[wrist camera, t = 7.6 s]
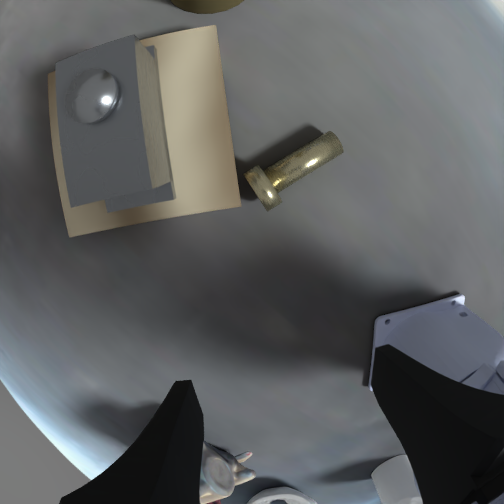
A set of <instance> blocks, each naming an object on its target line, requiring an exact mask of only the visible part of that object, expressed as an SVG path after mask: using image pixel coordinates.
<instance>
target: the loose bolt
mask: <svg viewBox="0 0 504 504" xmlns="http://www.w3.org/2000/svg"><path fill="white" fill-rule="evenodd" d="M342 153H343V147H342V144H341V143H340V141H339V139H338V138H337V137H336V135H335V134H334V133H333V132H331V131H328V132H327V133H325V134H323V135H321V136H320V137H318V138H316V139H315V140H313V141H311V142H309V143H308V144H306V145H304V146H303V147H301V148H299V149H298V150H296V151H294V152H293V153H291V154H289V155H288V156H286V157H284V158H283V159H281V160H280V161H278V162H276V163H275V164H273V165H271V166H270V167H268V168H267V169H265V170H262V169H261V168H260V166H259V165H257V166H255V167H254V168H252V169H250V170H249V171H247V172H246V173H244V174H243V175H244V177H245V178H246V180H247V181H248V183H249V184H250V186H251V187H252V189H253V190H254V192H255V193H256V195H257V197H258V198H259V200H260V201H261V203H262V204H263V206H264V207H265V209H266V210H267V212H268V211H269V210H271V209H273V208H274V207H276V206H277V205H279V204H280V203H282V200H281V198H280V197H279V195H278V193H279V192H280V191H282V190H284V189H285V188H287V187H288V186H290V185H292V184H293V183H295V182H296V181H298V180H300V179H301V178H303V177H304V176H306V175H308V174H309V173H311V172H313V171H314V170H316V169H317V168H319V167H321V166H322V165H324V164H326V163H327V162H329V161H331V160H332V159H334V158H336V157H337V156H339V155H341V154H342Z"/></svg>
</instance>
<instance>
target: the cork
mask: <svg viewBox="0 0 504 504" xmlns="http://www.w3.org/2000/svg"><path fill="white" fill-rule="evenodd" d="M170 1H171V2H172V3H173V4H174V5H175V6H177V7H179V8H181V9H182V10H184V11H188V12H193V13H197V14H213V13H217V12H221V11H226V10H228V9H230V8H233V7H235V6H237V5H239V4H240V3H241V2H242V1H244V0H170Z"/></svg>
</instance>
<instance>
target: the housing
mask: <svg viewBox="0 0 504 504" xmlns="http://www.w3.org/2000/svg"><path fill="white" fill-rule="evenodd" d="M55 77H56V102H57V116H58V128H59V137H60V146H61V154H62V161H63V168H64V174H65V180H66V186H67V191H68V197H69V202H70V207H71V208H72V207H76V206H80V205H84V204H88V203H92V202H96V201H100V200H105V204H106V209H107V213H110V212H114V211H119V210H124V209H129V208H134V207H138V206H144V205H149V204H154V203H159V202H164V201H170V200H174V199H176V193H175V187H174V181H173V175H172V168H171V162H170V155H169V149H168V142H167V135H166V128H165V120H164V112H163V104H162V96H161V87H160V78H159V68H158V58H157V49H156V48H155V46H154V45H151V46H147V47H144V46H143V44H142V43H141V42H140V41H139V39H138V38H137V37H136V36H135V35H130V36H127V37H124V38H120V39H117V40H114V41H111V42H108V43H105V44H102V45H99V46H97V47H94V48H91V49H88V50H86V51H83V52H81V53H78V54H76V55H73V56H71V57H68V58H66V59H64V60H61V61H59V62H57V63H55Z"/></svg>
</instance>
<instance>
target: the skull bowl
mask: <svg viewBox="0 0 504 504" xmlns="http://www.w3.org/2000/svg"><path fill="white" fill-rule="evenodd" d="M277 499H279V500H285V501H286V503H287V504H317V502H316V501H315V500H313V499H312V498H310V497H308V496H306V495H304V494H303V493H301V492H300V491H297V490H295V489H292V488H289V487H274V488H270V489H265V490H263V491H261V492H259V493H258V494H256V495H255V496H253V497H252V498H251V499H250V500H249V502H248V503H247V504H270V503H271V502H272V501H274V500H277Z"/></svg>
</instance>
